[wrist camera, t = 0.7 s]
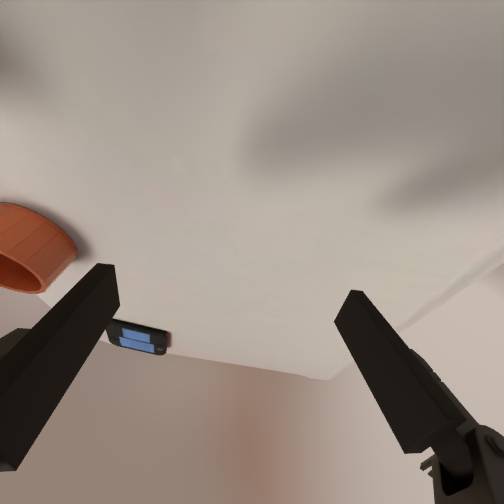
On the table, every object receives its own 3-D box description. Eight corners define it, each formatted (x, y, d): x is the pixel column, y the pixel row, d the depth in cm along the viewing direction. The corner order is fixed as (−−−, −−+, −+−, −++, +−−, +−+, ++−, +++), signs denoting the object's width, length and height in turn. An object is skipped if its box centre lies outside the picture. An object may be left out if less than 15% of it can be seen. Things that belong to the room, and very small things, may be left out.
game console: (169, 331, 50) (165, 341, 48) (168, 348, 59) (165, 357, 57) (105, 316, 47) (99, 326, 46) (114, 336, 57) (109, 345, 55)
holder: (-37, 193, 25) (-100, 225, 21) (55, 213, 26) (11, 247, 22) (19, 253, 33) (-19, 284, 29) (89, 267, 34) (61, 299, 30)
